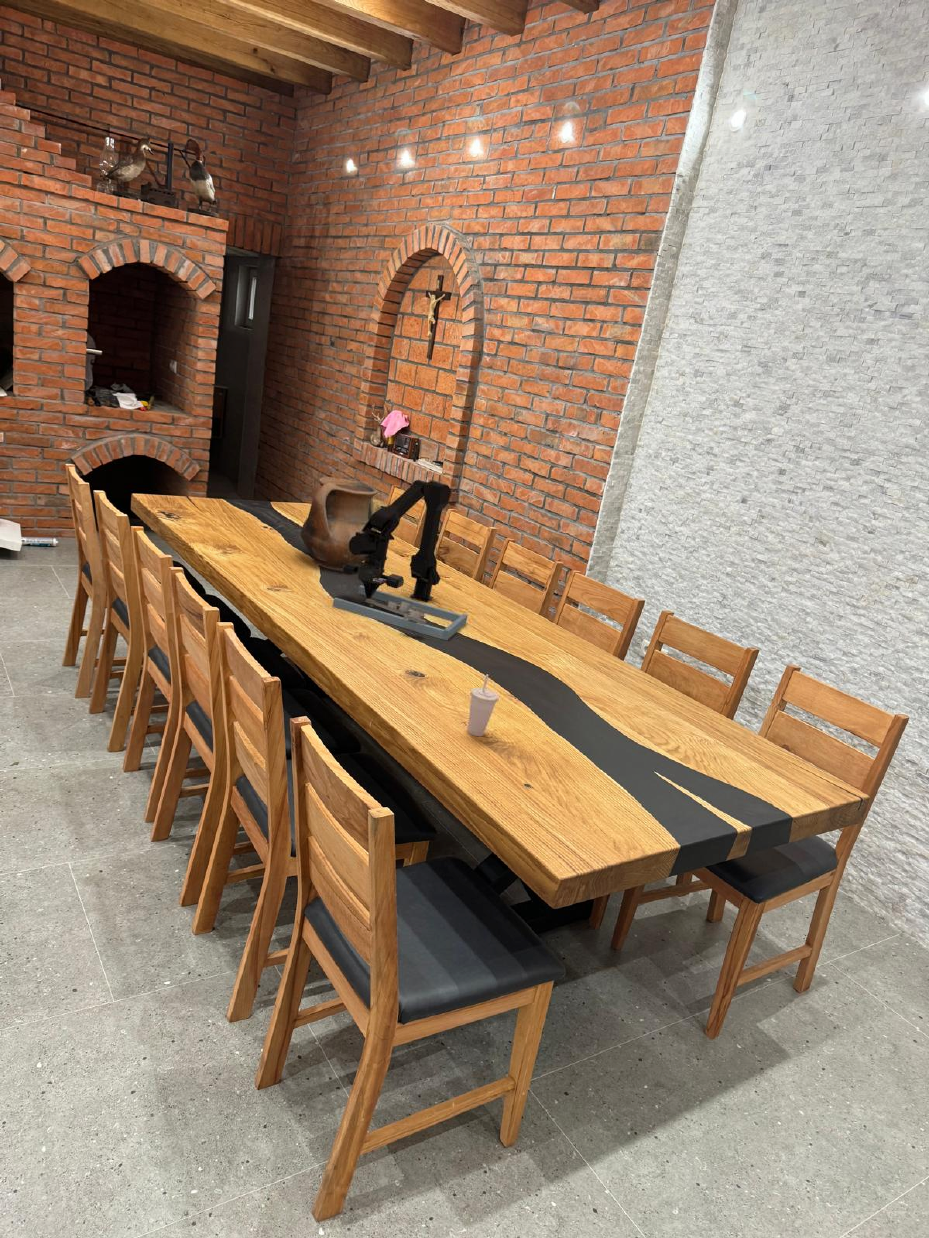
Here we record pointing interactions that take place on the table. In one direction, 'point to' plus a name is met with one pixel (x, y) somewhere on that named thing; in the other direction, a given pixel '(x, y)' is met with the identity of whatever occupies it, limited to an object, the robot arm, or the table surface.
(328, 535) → the jug
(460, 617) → the track
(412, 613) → the pulley system
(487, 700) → the smoothie
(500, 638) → the table surface
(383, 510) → the robot arm
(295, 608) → the table surface
